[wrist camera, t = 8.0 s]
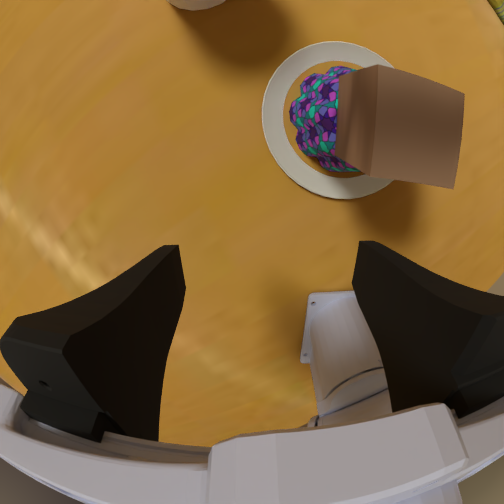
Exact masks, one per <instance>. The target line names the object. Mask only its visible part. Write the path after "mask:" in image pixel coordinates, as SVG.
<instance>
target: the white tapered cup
mask: <svg viewBox="0 0 504 504" xmlns="http://www.w3.org/2000/svg"><path fill="white" fill-rule="evenodd" d="M166 1H168V2H169V3H171V4H172V5H174V6H176V7H177V8H179V9H186V10H192V11H195V10H202V9H209V8H212V7H214V6H216V5H219V4H221V3H224V2H225V1H226V0H166Z"/></svg>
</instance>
